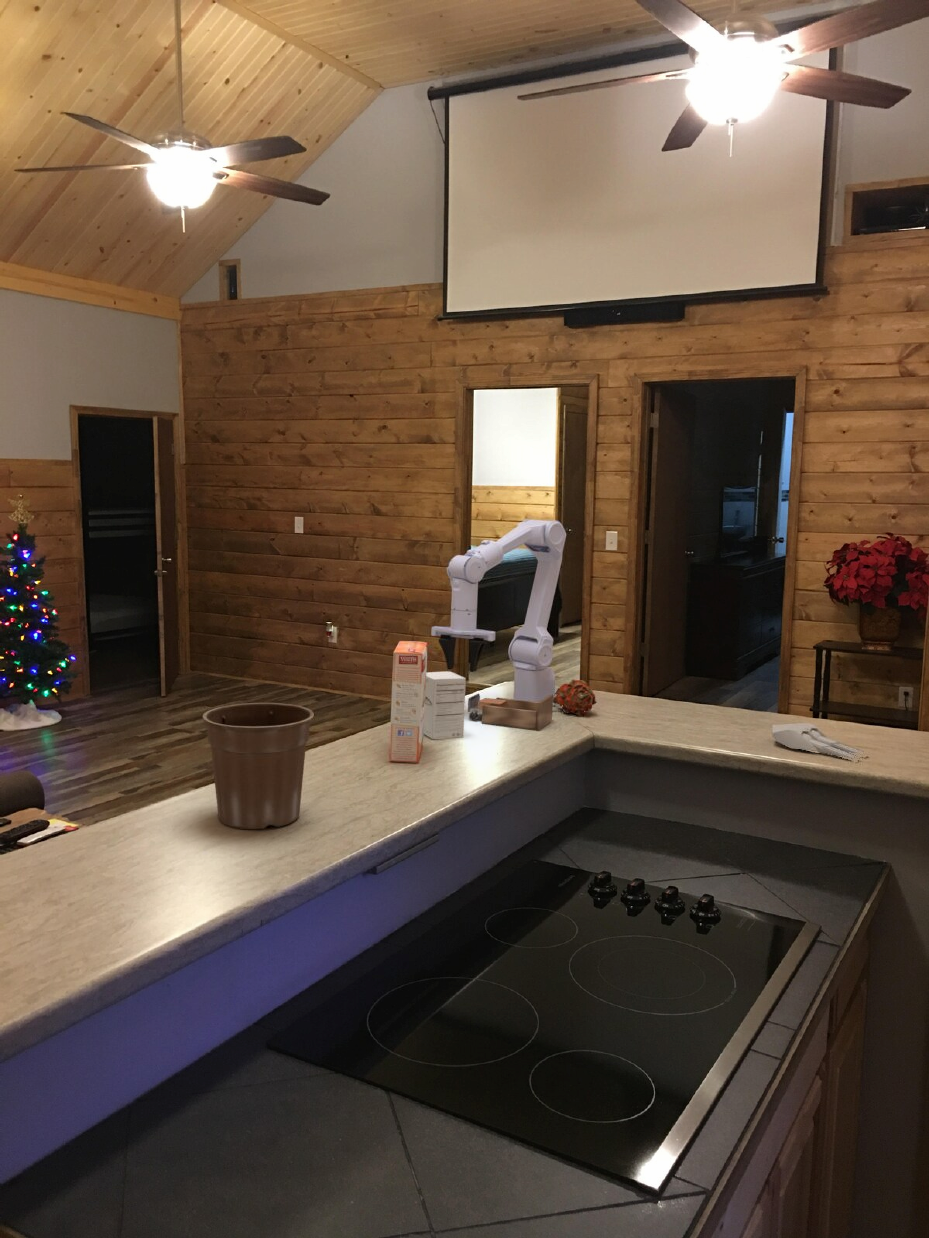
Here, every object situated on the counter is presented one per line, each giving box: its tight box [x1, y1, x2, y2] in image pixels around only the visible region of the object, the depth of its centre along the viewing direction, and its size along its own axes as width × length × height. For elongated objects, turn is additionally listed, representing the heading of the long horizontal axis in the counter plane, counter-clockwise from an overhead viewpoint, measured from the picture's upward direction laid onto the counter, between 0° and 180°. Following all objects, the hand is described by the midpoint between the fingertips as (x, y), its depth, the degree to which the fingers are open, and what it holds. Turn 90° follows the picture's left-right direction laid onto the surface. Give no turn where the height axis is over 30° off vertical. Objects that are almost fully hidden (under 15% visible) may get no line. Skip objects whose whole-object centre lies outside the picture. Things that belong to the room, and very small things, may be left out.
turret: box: [771, 722, 866, 760], centre depth 206 cm, size 10×20×5 cm, turn 47°
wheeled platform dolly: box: [467, 693, 509, 721], centre depth 223 cm, size 8×8×5 cm
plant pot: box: [202, 702, 315, 830], centre depth 151 cm, size 16×16×16 cm
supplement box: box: [423, 671, 467, 740], centre depth 207 cm, size 7×7×13 cm
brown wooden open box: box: [481, 695, 553, 732], centre depth 220 cm, size 13×10×6 cm
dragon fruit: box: [552, 679, 597, 716], centre depth 233 cm, size 8×8×12 cm
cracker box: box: [388, 640, 428, 764], centre depth 190 cm, size 14×6×21 cm, turn 179°
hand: (461, 670), depth 224 cm, fingers open, 5 cm apart
